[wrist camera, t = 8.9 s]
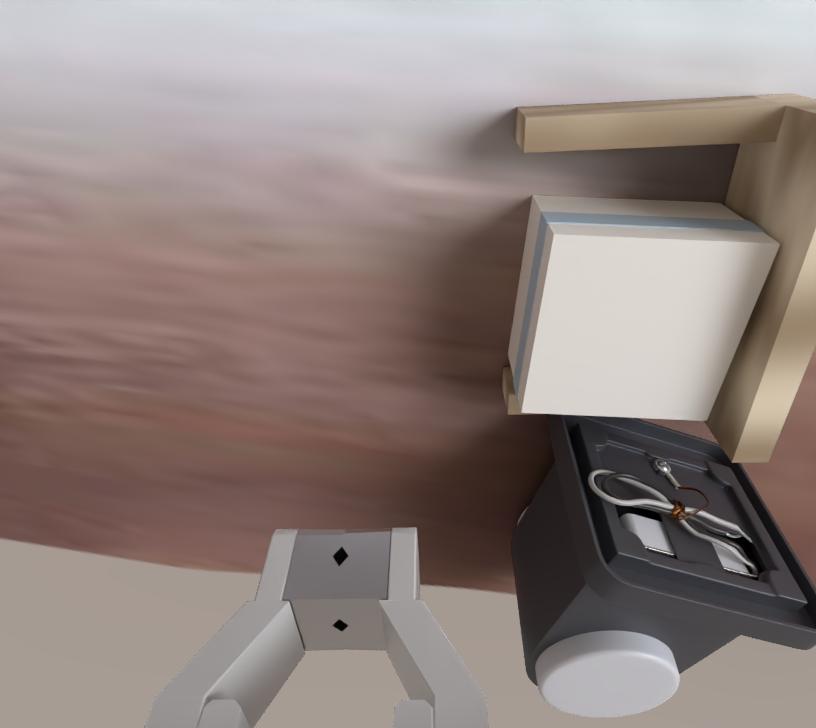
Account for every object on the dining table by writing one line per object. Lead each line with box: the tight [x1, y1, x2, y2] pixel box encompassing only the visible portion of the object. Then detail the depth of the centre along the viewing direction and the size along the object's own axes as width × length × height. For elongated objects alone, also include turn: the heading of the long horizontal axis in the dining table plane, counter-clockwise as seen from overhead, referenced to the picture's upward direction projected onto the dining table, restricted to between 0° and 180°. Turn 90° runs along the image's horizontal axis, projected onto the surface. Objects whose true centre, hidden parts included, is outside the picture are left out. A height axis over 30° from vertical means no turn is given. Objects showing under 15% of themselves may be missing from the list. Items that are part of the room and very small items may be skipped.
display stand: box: [502, 94, 816, 463], centre depth 23 cm, size 13×10×6 cm
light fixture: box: [511, 414, 816, 718], centre depth 29 cm, size 11×13×11 cm
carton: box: [508, 195, 780, 421], centre depth 24 cm, size 8×8×5 cm
